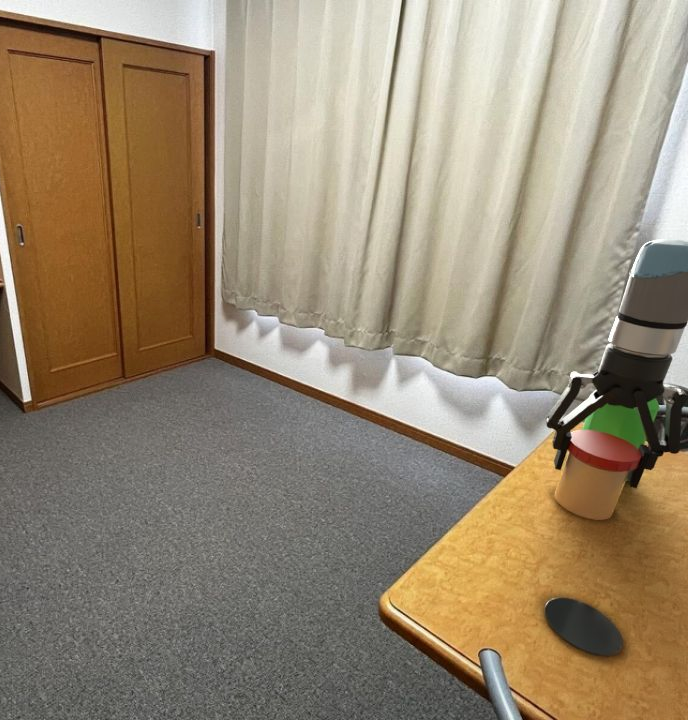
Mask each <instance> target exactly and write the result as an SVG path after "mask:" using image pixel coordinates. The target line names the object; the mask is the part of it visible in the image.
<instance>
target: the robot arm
mask: <svg viewBox="0 0 688 720" xmlns="http://www.w3.org/2000/svg"><path fill="white" fill-rule="evenodd" d="M687 325H688V240H683V239H654V240H651V241H647V242H646V243H644V244H643V245H642V247H640V249H639V252H638V254H637V256H636V258H635V261H634V263H633V265H632V267H631V270H630V271H629V277H628V280H627V283H626V287H625V290H624V293H623V296H622V299H621V303H620V306H619V309H618V312H617V314H616V317H615V321H614V323H613V325H612V328H611V331H610V333H609V337H608V342H610V343H608V344H607V345H606V346H605V349H604V352H603V355H602V357H601V361H600V363H599V366H598V369H597V370H596V371H595V372H594V373H593V374H582V373H580V372H578V371H576V370H575V371H572V372H570V374H569V381H568V384H567V385H566V387H565V388H564V390H563V392H562V393H561V395H560V396H559V397H558V398H557V400H556V402H555V403H554V405H553V406H552V408H551V409H550V411H548V414H547V415H546V416H545V425H546V427H547V428H548V429H551V430H554V431H555V432H554V436H553V438H552V441H551V443H552V448H553V450H556V453H555V457H554V459H553V462H554V468H555V469H554V470H558V471H562V469H563V466H564V463H565V460H566V457H567V454H568V447H569V444H570V441H571V438H572V436H571V433H572V432H571V431H572V430H573V429H575V428H576V427H577V426H578V425H579V424H581V423H582V422H583V421H585V419H586V418H587V417H588V416H590V415H591V414H592V413H593V412H595V411H596V410H597V409H599V408H602V407H603V406H604V405H606V404H608V405H613V406H623V407H626V408H630V409H634V408H636V409H637V412H638V415H639V418H640V421H641V424H642V427H643V430H644V433H645V436H646V443H647V444H644V445H643V444H640V447H639V451H640V452H641V455H642V456H641V459H640V461H639V464H638V466H637V468H636V469H634V470H631V471H630V472H629V474H628V477H627V479H628V481H627V482H628V485H629V487H630V488H633V489H637V488H638V486H639V484H640V481H641V479H642V476H643V474H644V472H645V470H647V471H652V470H653V469H654V468H655V466H656V465H657V461H658V459H659V458H660V457H662V456H664V453H669V454H673V455H676V454H679V453H680V450H681V434H682V433H681V432H682V417H683V416H682V414H683V408H684V406H685V405H686V403H687V401H688V394H687V393H686V391H684V389H683V388H682V387H678V386H677V387H674V388H672V387H668V386H664V385H665V384H664V381H665V379H666V377H667V374H668V371H669V369H670V366H671V364H672V362H673V356H672V354H675V353H676V352H677V349H678V347H679V344H680V341H681V339H682V337H683V334H684V331H685V330H686V329H685V328H686V327H687ZM589 384H592V385H593V387H594V388H595V390H594V391H593V392H591V394H590V395H589V396H588V398H587V399H585V400H584V401H583V402H582V403H580V404H579V405H578V406H576V407H575V408H574V409H573V410H571V411H570V412H569V413H568V414H567V415H566V416H564V415H565V414H566V412H567V411H568V409H569V408H570V407H571V405H572V404H573V402H574V401H575V400H576V398H577V397H578V395H579V393H580V391H581V389H585V388H586V387H587V386H588V385H589ZM660 396H663V400H664V402H665V417H664V418H665V423H664V438H663V439H664V440H660V439H659V436H658V433H657V430H656V426H655V424H654V422H653V421H652V417H651V413H650V410H649V407H648V404H647V403H648V402H649V401H651V400H653V399H655V398H656V399H657V398H658V397H660ZM563 416H564V417H563Z"/></svg>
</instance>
